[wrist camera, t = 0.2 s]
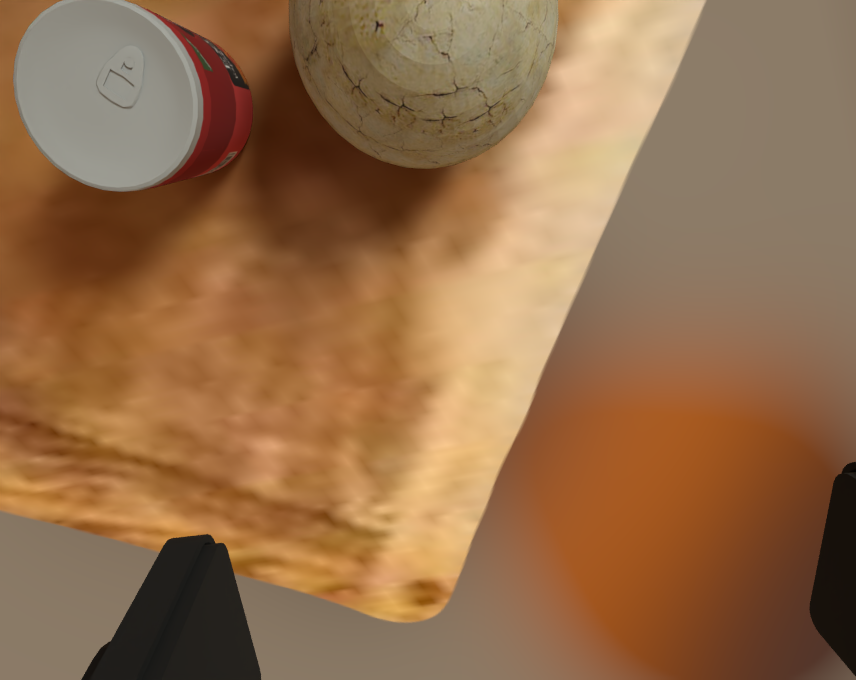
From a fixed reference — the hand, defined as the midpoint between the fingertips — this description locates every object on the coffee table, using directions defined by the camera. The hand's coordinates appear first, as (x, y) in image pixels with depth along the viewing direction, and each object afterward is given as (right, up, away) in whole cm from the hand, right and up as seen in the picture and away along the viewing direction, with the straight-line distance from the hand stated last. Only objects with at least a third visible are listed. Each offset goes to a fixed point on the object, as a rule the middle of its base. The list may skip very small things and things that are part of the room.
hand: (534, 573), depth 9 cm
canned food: (-16, +18, +26) cm, 35 cm away
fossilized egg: (-2, +21, +25) cm, 33 cm away
